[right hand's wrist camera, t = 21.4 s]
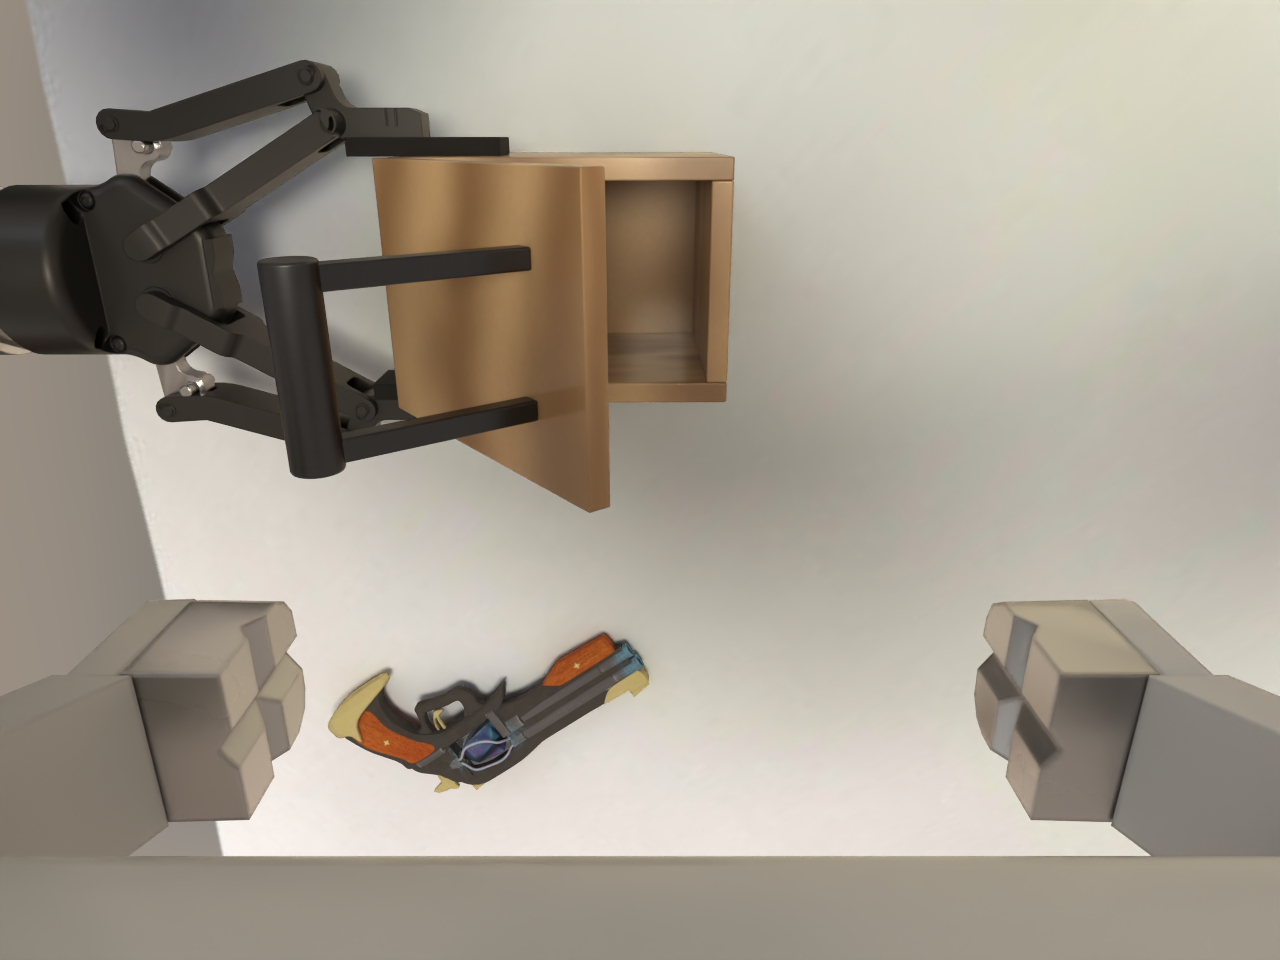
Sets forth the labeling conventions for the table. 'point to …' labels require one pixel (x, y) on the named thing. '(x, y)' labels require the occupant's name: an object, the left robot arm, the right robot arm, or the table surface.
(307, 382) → the lid
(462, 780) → the toy gun
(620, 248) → the chest
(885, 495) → the table surface
